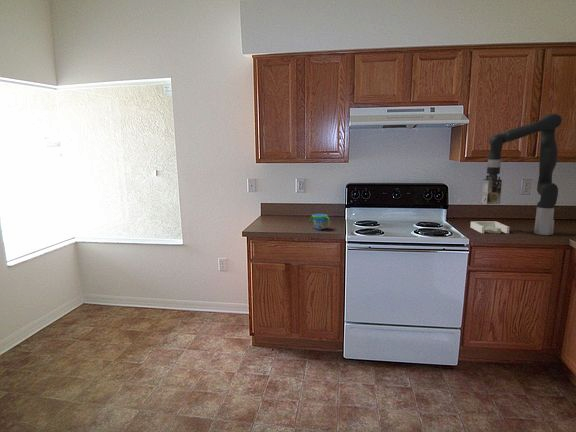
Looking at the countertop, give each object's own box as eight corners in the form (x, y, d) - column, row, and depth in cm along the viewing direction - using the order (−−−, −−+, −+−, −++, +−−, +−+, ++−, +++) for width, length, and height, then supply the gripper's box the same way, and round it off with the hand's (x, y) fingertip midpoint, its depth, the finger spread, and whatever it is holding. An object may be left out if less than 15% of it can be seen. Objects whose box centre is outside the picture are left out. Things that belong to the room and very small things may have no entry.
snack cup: (333, 229, 264) (333, 215, 262) (324, 232, 256) (325, 217, 254) (314, 226, 273) (314, 212, 271) (306, 229, 265) (306, 215, 263)
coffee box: (494, 202, 251) (496, 178, 248) (500, 204, 244) (502, 179, 241) (481, 202, 250) (483, 178, 247) (486, 204, 244) (488, 179, 241)
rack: (495, 228, 258) (496, 221, 257) (508, 234, 241) (509, 227, 240) (470, 228, 259) (470, 221, 258) (481, 234, 242) (482, 227, 241)
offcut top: (501, 230, 242) (501, 228, 241) (497, 231, 240) (497, 228, 240) (489, 228, 249) (489, 225, 248) (485, 228, 247) (485, 226, 247)
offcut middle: (501, 232, 244) (501, 230, 244) (500, 233, 241) (500, 231, 240) (484, 230, 250) (484, 228, 249) (483, 231, 246) (483, 229, 246)
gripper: (505, 167, 235) (503, 193, 239) (494, 165, 250) (492, 190, 253) (493, 167, 236) (490, 193, 239) (482, 165, 250) (481, 190, 253)
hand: (491, 191), depth 246 cm, fingers closed on coffee box, 6 cm apart
